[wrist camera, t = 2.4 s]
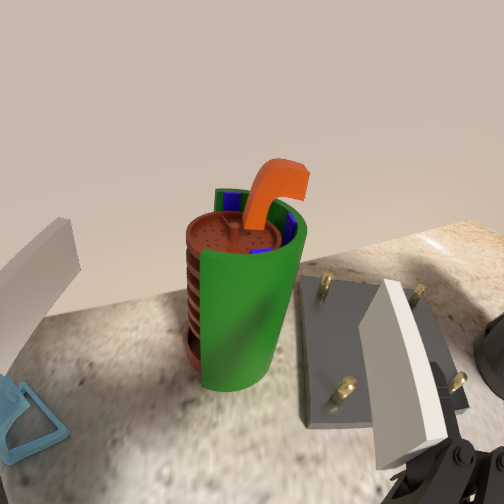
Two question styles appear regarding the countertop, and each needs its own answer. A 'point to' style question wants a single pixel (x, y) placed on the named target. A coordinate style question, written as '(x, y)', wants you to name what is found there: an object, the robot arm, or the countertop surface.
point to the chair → (10, 408)
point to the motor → (243, 276)
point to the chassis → (355, 350)
